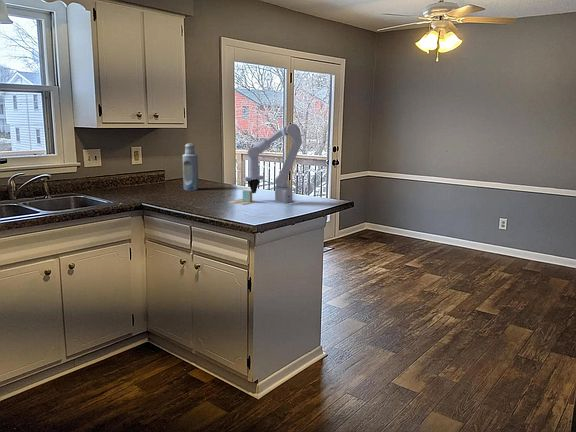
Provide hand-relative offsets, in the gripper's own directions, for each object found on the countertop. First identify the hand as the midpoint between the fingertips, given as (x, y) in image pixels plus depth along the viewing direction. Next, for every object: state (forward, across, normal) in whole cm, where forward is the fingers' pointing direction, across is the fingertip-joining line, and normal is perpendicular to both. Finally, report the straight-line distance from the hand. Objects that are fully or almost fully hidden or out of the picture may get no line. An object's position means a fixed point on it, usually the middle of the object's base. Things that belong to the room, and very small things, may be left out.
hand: (253, 193), depth 276 cm
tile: (+4, +5, 0) cm, 7 cm away
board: (+5, +7, -1) cm, 9 cm away
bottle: (+5, -7, -64) cm, 65 cm away
